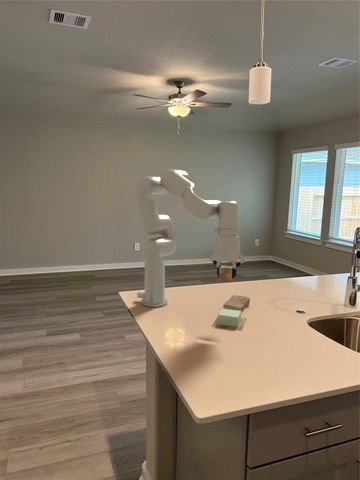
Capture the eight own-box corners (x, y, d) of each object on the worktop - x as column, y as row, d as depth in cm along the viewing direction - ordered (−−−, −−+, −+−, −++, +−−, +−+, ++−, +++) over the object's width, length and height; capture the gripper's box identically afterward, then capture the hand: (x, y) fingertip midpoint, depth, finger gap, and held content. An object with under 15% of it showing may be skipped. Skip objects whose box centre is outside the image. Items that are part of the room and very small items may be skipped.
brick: (240, 316, 158) (240, 306, 157) (221, 313, 161) (222, 303, 161) (249, 306, 173) (250, 296, 172) (232, 303, 176) (233, 294, 176)
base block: (217, 324, 145) (218, 314, 145) (222, 317, 153) (222, 308, 152) (237, 327, 143) (238, 317, 142) (240, 320, 150) (241, 310, 150)
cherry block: (219, 280, 144) (219, 267, 143) (221, 277, 149) (221, 265, 148) (231, 281, 143) (231, 268, 142) (233, 278, 147) (234, 266, 147)
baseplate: (211, 328, 143) (211, 326, 143) (218, 316, 156) (218, 314, 156) (241, 333, 140) (241, 330, 139) (246, 320, 153) (246, 318, 153)
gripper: (204, 232, 142) (203, 277, 145) (248, 234, 137) (246, 281, 139) (209, 230, 149) (208, 273, 152) (250, 232, 144) (249, 277, 146)
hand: (226, 276), depth 146 cm, fingers closed on cherry block, 4 cm apart
